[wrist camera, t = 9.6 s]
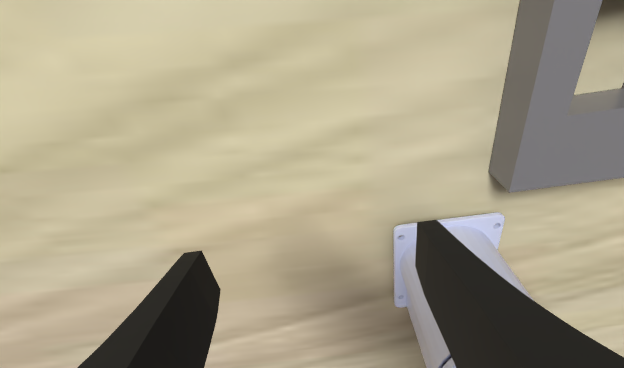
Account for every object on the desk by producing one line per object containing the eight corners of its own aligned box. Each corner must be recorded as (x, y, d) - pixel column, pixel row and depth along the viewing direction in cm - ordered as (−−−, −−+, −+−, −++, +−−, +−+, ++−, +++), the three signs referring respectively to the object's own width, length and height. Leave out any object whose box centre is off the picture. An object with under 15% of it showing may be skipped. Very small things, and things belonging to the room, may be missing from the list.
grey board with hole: (628, 152, 21) (665, 172, 18) (488, 171, 21) (509, 192, 19) (777, -179, 13) (873, -211, 10) (545, -134, 13) (591, -157, 11)
